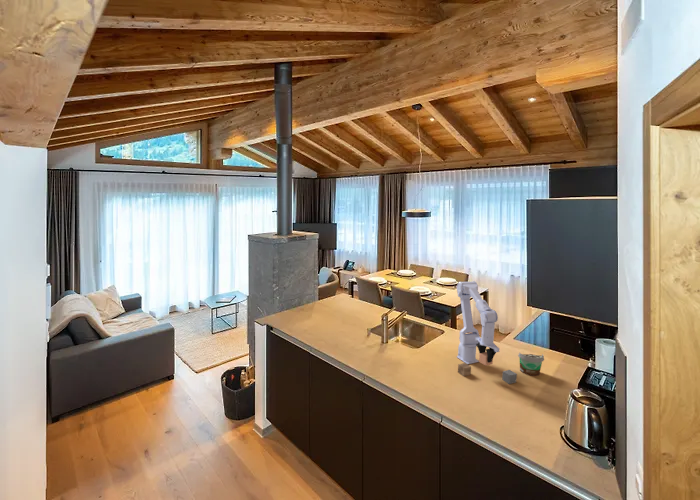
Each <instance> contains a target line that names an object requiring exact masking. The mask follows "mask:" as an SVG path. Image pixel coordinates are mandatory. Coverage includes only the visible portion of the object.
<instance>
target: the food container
mask: <svg viewBox="0 0 700 500" xmlns="http://www.w3.org/2000/svg"><path fill="white" fill-rule="evenodd" d="M517 356H518V358H519V371H520V372H521V373H522V374H524V375H527V376H532V377H538V376H539V375H540V372H541V369H542V365H543V362H544V361H545V357H544V356H545V355H544V354H543V353H542V354H541V355H539V354H531V353H529V354H524V353H521V352H519V353H518V355H517Z"/></svg>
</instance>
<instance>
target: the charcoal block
mask: <svg viewBox="0 0 700 500" xmlns="http://www.w3.org/2000/svg"><path fill="white" fill-rule="evenodd" d="M501 377H502V378H501V379H502V381H504V382H505V383H507V384H508V385H512V384H515V383H517V377H518V374H517V373H516V372H514V371H513V370H511V369H508V370H502V376H501Z"/></svg>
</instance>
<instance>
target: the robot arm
mask: <svg viewBox="0 0 700 500" xmlns="http://www.w3.org/2000/svg"><path fill="white" fill-rule="evenodd" d="M456 292H457V297H458V298H459V299H460V306H461V307H460V308H461V315H462V322H463V323H462V324H463V328H461V329H460V331H459V344H458V349H457V350H458V351H457V355H456V358H458V359H459V360H461V362H462V363H466V364H468V365H470V364H475V363H480V362H479V360H478V359H477V358H476V355H477V350H478V352H479V353H478V354H480V353H483V352H487V361H488V363H489V362H492V359H493V360H494V357H495V355H496V353H499V352H500V347H499V346H497V345H496V344H495V343H494V340H495V339H494V338H495V337H494V336H495V326H496V325H495V324H496V322H497V321H498V320H499V319H498V318H499V317H498V316H499V315H498V313H497V311H496V310H494V309H493V308H491V307H490V306H489V304H488V302H487V301H486V300H485V299H483V298H482V296H481V294H480V293H479V285H478V283H477V281H475V280H472V281H458V282H457V285H456ZM471 298H472V299H473V301H474V302H475V308H476V309H477V311H478V312H479V315H480V323H481V336H480V333H479V330H478V329H477V328H476V327H474V319H473V313H472V306H471Z"/></svg>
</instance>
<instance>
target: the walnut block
mask: <svg viewBox="0 0 700 500" xmlns="http://www.w3.org/2000/svg"><path fill="white" fill-rule="evenodd" d="M457 373H458V374H460V375H461V376H462V377H467V376H471V375H472V374H471V373H472V366H470V364H466V363H465V362H462V363H458V365H457Z"/></svg>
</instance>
